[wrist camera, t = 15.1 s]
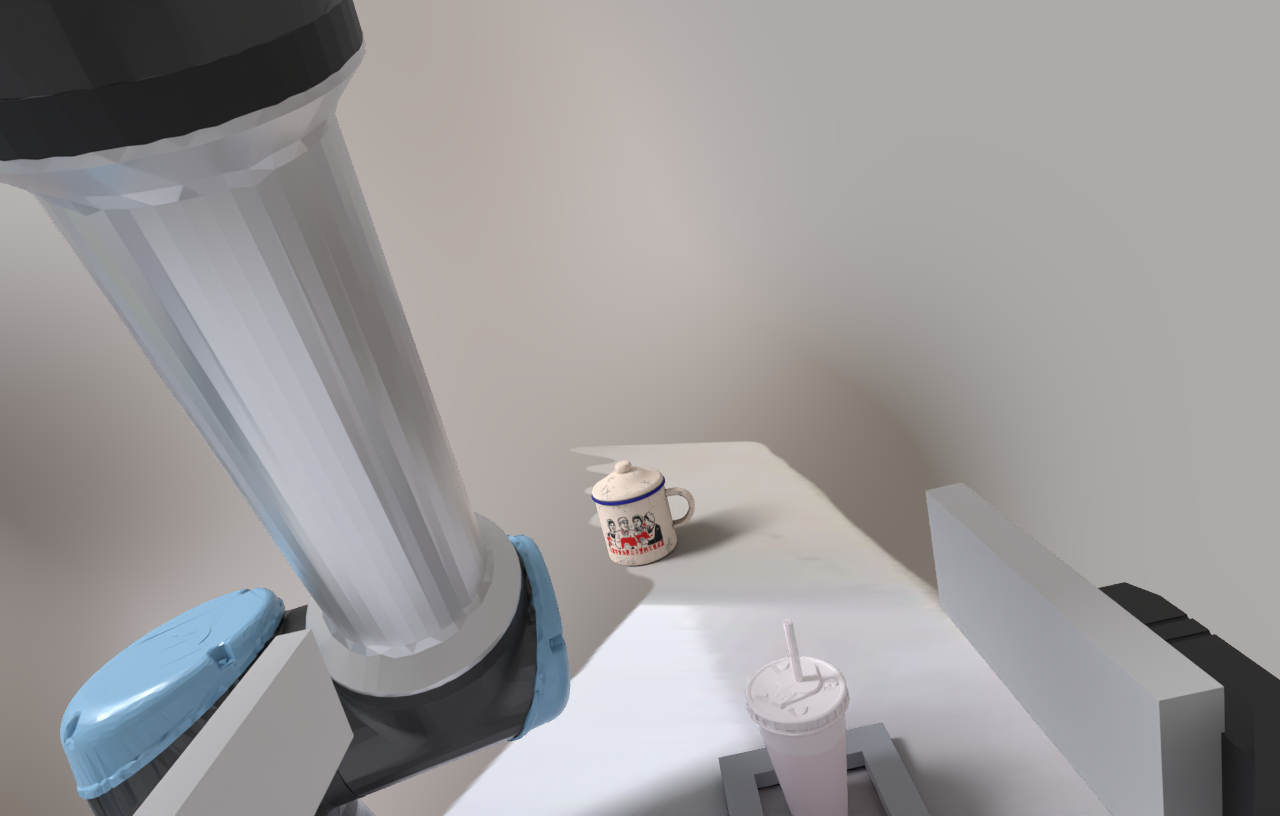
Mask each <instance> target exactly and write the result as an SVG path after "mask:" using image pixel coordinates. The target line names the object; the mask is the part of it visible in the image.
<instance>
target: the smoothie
mask: <svg viewBox="0 0 1280 816" xmlns="http://www.w3.org/2000/svg"><path fill="white" fill-rule="evenodd" d="M783 625H784V630H785V635H786V640H787V645H788V650H789V655H790V657H786V658H782V659H778V660H775V661H773V662H770V663H768V664H766V665H764V666H763V667H761V668H760V669H759V670H757V671H756V672H755V673H754V674H753V675H752V676H751V678H750V679H749V681H748V683H747V685H746V688H745V697H746V702H747V711H748V713H749V715H750V718H751V719H752V720H753V721H754V722H755V723H756V724H757V725H758V727H759V729H760V732H761V735H762V737H763V740H764V743H765V745H766V748H767V751H768V753H769V756H770V759H771V761H772V764H773V767H774V769H775V772H776V775H777V777H778V780H779V783H780V785H781V788H782V791H783V793H784V796H785V799H786V801H787V804H788V807H789V809H790V812H791V815H792V816H848V788H847V759H846V730H845V726H846V723H845V712H846V710H847V708H848V704H849V699H850V697H849V693H848V689H847V686H846V681H845V678H844V676H843V674H842V673H841V672H840V671H839V670H838V669H837V668H836V667H835V666H833V665H832V664H830V663H828V662H826V661H824V660H821V659H817V658H813V657H805V656H799V654H798V649H797V644H796V639H795V634H794V629H793V624H792V620H790V619H787V620H784V621H783Z"/></svg>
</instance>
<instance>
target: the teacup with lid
mask: <svg viewBox="0 0 1280 816" xmlns="http://www.w3.org/2000/svg"><path fill="white" fill-rule="evenodd" d="M664 483H665V478H664V476H663V475H662V474H661V472H659V471H658V470H656V469H652V468H640V467H635V466H631V463H630V462H629V461H621V462H618V463H617V464H616V465H615V471H613V472H612V473H611V474H610V475H609V476H607V477H606V478H603V479H602V480H600V481H599V482H598V483H597V484H596V485H595V486H594V488H593V490H592V499H593V500H594V502H595V503H596V507H597V511H598V514H599V518H600V522H601V526H602V529H603V533H604V537H605V541H606V544H607V548H608V552H609V556H610V558H611V559H612V560H613V561H614V562H615V563H617V564H620V565H626V566H637V565H643V564H647V563H651V562H654V561H656V560H659V559H661V558H663V557H665V556H666V555H667V554H669V553H670V552H671V551H672V550H673V549H674V548H675V546H676V543H677V537H676V533H675V529H674V528H678V527H681V526H683V525H685V524H687V523H688V522H689V521H690V519H691V518H692V516H693V513H694V499H693V497H692V495H691V493H690V492H688V491H687V490H685V489H683V488H678V487H675V488H669V489H665V487H664ZM672 495H680V496H683V497H684V498H686V500H687V501H688V504H689V510H688V512H687V514H686V515H685V516H684V517H683V518H681V519H678V520H674V521H673V520H672V516H671V512H670V508H669V503H668V499H667V496H672Z"/></svg>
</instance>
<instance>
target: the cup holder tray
mask: <svg viewBox="0 0 1280 816" xmlns="http://www.w3.org/2000/svg"><path fill="white" fill-rule="evenodd" d="M846 759H847V769H850V768H855V767H859V766H864V765H865V767H866V769H867V772H868V774H869V776H870V778H871V780H872V783H873V785H874V787H875V789H876V792H877V794H878V796H879V798H880V800H881V803H882V805H883V807H884V809H885V812H886V814H887V816H931V815H930V813H929V811H928V809H927V807H926V805H925V803H924V801H923V800H922V798H921V796H920V794H919V792H918V790H917V788H916V786H915V784H914V782H913V780H912V778H911V777H910V775H909V773H908V771H907V769H906V767H905V765H904V763H903V761H902V759H901V757H900V755H899V754H898V752H897V750H896V748H895V746H894V744H893V742H892V740H891V738H890V736H889V734H888V732H887V731H886V729H885V727H884V725H883V723H879V724H874V725H869V726H865V727H860V728H855V729H851V730H846ZM719 764H720V769H721V774H722V780H723V785H724V790H725V796H726V801H727V806H728V812H729V816H764V814H763V809H762V805H761V801H760V797H759V793H758V789H757V788H761V787H766V786H770V785H775V784H780V783H779V780H778V777H777V775H776V772H775V769H774V767H773V764H772V761H771V759H770V756H769V753H768V751H767V748H762V749H758V750H753V751H749V752H744V753H739V754H735V755H730V756H725V757H721V758H719Z"/></svg>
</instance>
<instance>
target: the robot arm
mask: <svg viewBox="0 0 1280 816" xmlns="http://www.w3.org/2000/svg"><path fill="white" fill-rule="evenodd" d="M364 55H365V40H364V36H363V32H362V30H361V27H360V23H359V20H358V17H357V13H356V10H355V7H354V3H353V0H0V182H2V183H5V184H8V185H11V186H14V187H18V188H21V189H24V190H27V191H28V192H30V193H32V194H33V195H34V197H35V198H36V199H37V201H38V202H39V204H40V205H41V207H42V208H43V210H44V211H45V212H46V214H47V215H48V217H49V218H50V220H51V221H52V223H53V224H54V225H55V227H56V228H57V230H58V231H59V232H60V234H61V235H62V237H63V238H64V240H65V241H66V243H67V244H68V246H69V247H70V248H71V250H72V251H73V253H74V254H75V256H76V257H77V259H78V260H79V261H80V263H81V264H82V266H83V267H84V269H85V270H86V272H87V273H88V274H89V276H90V277H91V279H92V280H93V282H94V283H95V284H96V286H97V287H98V289H99V290H100V292H101V293H102V295H103V296H104V297H105V299H106V300H107V302H108V303H109V305H110V306H111V308H112V309H113V310H114V312H115V313H116V315H117V316H118V317H119V319H120V320H121V322H122V323H123V325H124V326H125V328H126V329H127V331H128V332H129V333H130V335H131V336H132V338H133V339H134V341H135V342H136V343H137V345H138V346H139V348H140V349H141V351H142V352H143V354H144V355H145V356H146V358H147V359H148V361H149V362H150V363H151V365H152V366H153V368H154V370H155V371H156V372H157V374H158V375H159V377H160V378H161V380H162V381H163V382H164V384H165V385H166V387H167V388H168V390H169V391H170V393H171V394H172V395H173V397H174V398H175V400H176V401H177V403H178V404H179V406H180V407H181V408H182V410H183V411H184V413H185V414H186V416H187V417H188V419H189V420H190V421H191V423H192V424H193V426H194V427H195V429H196V430H197V431H198V433H199V434H200V436H201V437H202V439H203V440H204V442H205V443H206V444H207V446H208V447H209V449H210V450H211V452H212V453H213V455H214V456H215V457H216V459H217V460H218V462H219V463H220V465H221V466H222V468H223V469H224V470H225V472H226V473H227V475H228V476H229V478H230V479H231V480H232V482H233V483H234V485H235V486H236V488H237V489H238V491H239V492H240V493H241V495H242V496H243V498H244V499H245V501H246V502H247V504H248V505H249V506H250V508H251V509H252V510H253V512H254V514H255V515H256V516H257V518H258V519H259V521H260V522H261V524H262V525H263V527H264V528H265V529H266V531H267V532H268V534H269V535H270V537H271V538H272V540H273V541H274V542H275V544H276V545H277V547H278V548H279V549H280V551H281V553H282V554H283V555H284V557H285V558H286V560H287V561H288V562H289V564H290V565H291V567H292V568H293V570H294V571H295V573H296V574H297V575H298V577H299V578H300V580H301V581H302V583H303V584H304V586H305V587H306V588H307V590H308V591H309V593H310V594H311V596H310V599H309V603H308V605H305V606H302V607H298V608H295V609H292V610H288V611H285V607H284V604H283V601H282V599H280V598H279V597H277V596H276V595H275V594H274V593H273V592H272V591H271V590H268V589H266V588H255V589H253V590H249V589H243V590H239V591H235V592H232V593H228V594H226V595H223V596H220V597H217V598H215V599H213V600H210V601H208V602H205V603H203V604H201V605H199V606H197V607H194V608H193V609H190V610H189V611H187V612H185V613H183V614H181V615H179V616H177V617H175V618H173V619H172V620H170V621H168V622H166V623H165V624H163V625H161V626H159V627H158V628H156V629H154V630H153V631H151V632H149V633H148V634H146V635H145V636H143V637H142V638H140V639H139V640H137V641H136V642H134V643H133V644H131V645H130V646H129V647H127V648H126V649H124V650H123V651H122V652H120V653H119V654H118V655H116V656H115V657H114V658H113V659H111V660H110V661H109V662H108V663H106V664H105V665H104V666H103V667H102V668H101V669H100V670H98V672H96V673H95V674H94V675H93V676H92V677H91V678H90V679H89V680H88V681H87V682H86V683H85V684H84V685H83V686H82V687H81V689H80V690H79V691H78V692H77V694H76V695H75V696H74V698H73V699H72V701H71V702H70V704H69V705H68V707H67V709H66V711H65V714H64V716H63V719H62V724H61V729H60V735H61V742H62V745H63V747H64V750H65V753H66V755H67V758H68V761H69V763H70V766H71V769H72V771H73V774H74V777H75V779H76V782H77V785H78V786H77V791H78V794H79V795H80V797H81V798H83V799H86V801H87V802H88V804H89V806H90V808H91V810H92V812H93V814H94V815H95V816H376V815H375V814H374V813H373V812H372V811H371V810H370V809H369V808H368V807H367V806H366V805H365V804H364V803H363V802H362V801H361V800H360V799H359V798H361V797H364V796H366V795H368V794H371V793H373V792H376V791H378V790H381V789H383V788H386V787H389V786H391V785H394V784H396V783H399V782H401V781H404V780H406V779H409V778H412V777H414V776H417V775H419V774H422V773H424V772H427V771H429V770H432V769H435V768H437V767H439V766H442V765H445V764H447V763H450V762H452V761H455V760H458V759H460V758H463V757H465V756H468V755H470V754H473V753H475V752H478V751H481V750H483V749H485V748H488V747H491V746H493V745H496V744H498V743H501V742H503V741H515V740H518V739H520V738H522V737H523V736H524V735H526V734H527V733H528V732H529V731H530V730H532V729H534V728H536V727H538V726H541V725H543V724H545V723H547V722H550V721H552V720H553V719H555V718H556V717H557V716H559V715H560V714H561V713H562V711H563V710H564V708H565V706H566V704H567V702H568V699H569V694H570V672H569V661H568V654H567V649H566V646H565V642H564V639H563V637H562V632H563V631H562V623H561V617H560V612H559V608H558V604H557V600H556V596H555V593H554V589H553V586H552V582H551V579H550V576H549V573H548V570H547V567H546V564H545V562H544V559H543V556H542V554H541V552H540V550H539V548H538V546H537V544H536V543H535V542H534V541H533V539H531V538H529V537H527V536H524V535H516V536H510V535H506V534H505V533H504V531H503V530H502V529H501V528H500V527H499V526H497V525H496V524H495V523H494V522H492V521H491V520H489V519H488V518H486V517H484V516H482V515H480V514H478V513H475V512H473V509H472V506H471V503H470V501H469V498H468V495H467V492H466V489H465V486H464V483H463V481H462V477H461V475H460V472H459V469H458V466H457V463H456V460H455V457H454V455H453V452H452V449H451V446H450V443H449V440H448V437H447V434H446V431H445V429H444V426H443V423H442V420H441V417H440V415H439V411H438V409H437V406H436V403H435V400H434V397H433V394H432V391H431V388H430V386H429V383H428V380H427V377H426V374H425V371H424V368H423V365H422V363H421V360H420V357H419V354H418V351H417V348H416V346H415V342H414V340H413V337H412V334H411V331H410V328H409V325H408V322H407V319H406V317H405V314H404V311H403V308H402V305H401V302H400V300H399V297H398V294H397V291H396V288H395V285H394V282H393V279H392V276H391V274H390V271H389V268H388V265H387V262H386V259H385V256H384V253H383V250H382V248H381V245H380V242H379V239H378V236H377V233H376V231H375V228H374V225H373V222H372V219H371V216H370V213H369V210H368V207H367V205H366V202H365V199H364V196H363V193H362V190H361V187H360V184H359V182H358V179H357V176H356V173H355V170H354V167H353V165H352V161H351V159H350V156H349V153H348V150H347V147H346V144H345V141H344V138H343V136H342V133H341V130H340V127H339V124H338V121H337V118H336V115H335V111H336V106H337V102H338V100H339V98H340V97H341V95H342V93H343V92H344V90H345V88H346V87H347V85H348V83H349V82H350V80H351V78H352V77H353V75H354V73H355V71H356V70H357V68H358V66H359V65H360V63H361V61H362V59H363V57H364ZM926 499H927V505H928V514H929V522H930V528H931V537H932V544H933V552H934V559H935V567H936V574H937V581H938V590H939V597H940V605H941V608H942V609H943V610H944V612H945V613H946V614H947V615H948V616H949V618H950V619H951V620H952V621H953V622H954V624H955V625H956V626H957V627H958V629H959V630H960V631H961V632H962V633H963V635H964V636H965V637H966V638H967V639H968V641H969V642H970V643H971V644H972V646H973V647H974V648H975V649H976V650H977V652H978V653H979V654H980V655H981V656H982V658H983V659H984V660H985V661H986V663H987V664H988V665H989V666H990V667H991V669H992V670H993V671H994V672H995V673H996V675H997V676H998V677H999V678H1000V680H1001V681H1002V682H1003V683H1004V684H1005V686H1006V687H1007V688H1008V689H1009V690H1010V692H1011V693H1012V694H1013V695H1014V697H1015V698H1016V699H1017V700H1018V701H1019V703H1020V704H1021V705H1022V706H1023V708H1024V709H1025V710H1026V711H1027V712H1028V714H1029V715H1030V716H1031V717H1032V718H1033V720H1034V721H1035V722H1036V723H1037V725H1038V726H1039V727H1040V728H1041V729H1042V731H1043V732H1044V733H1045V734H1046V735H1047V737H1048V738H1049V739H1050V740H1051V742H1052V743H1053V744H1054V745H1055V746H1056V748H1057V749H1058V750H1059V751H1060V752H1061V754H1062V755H1063V756H1064V757H1065V759H1066V760H1067V761H1068V762H1069V763H1070V765H1071V766H1072V767H1073V768H1074V769H1075V771H1076V772H1077V773H1078V774H1079V776H1080V777H1081V778H1082V779H1083V780H1084V782H1085V783H1086V784H1087V785H1088V786H1089V788H1090V789H1091V790H1092V791H1093V793H1094V794H1095V795H1096V796H1097V797H1098V799H1099V800H1100V801H1101V802H1102V803H1103V805H1104V806H1105V807H1106V808H1107V810H1108V811H1109V812H1110V813H1111V814H1112V816H1280V680H1279V679H1278V678H1276V677H1275V676H1273V675H1272V674H1271V673H1269V672H1268V671H1266V670H1265V669H1263V668H1262V667H1261V666H1259V665H1258V664H1256V663H1255V662H1254V661H1252V660H1251V659H1249V658H1248V657H1246V656H1245V655H1244V654H1242V653H1241V652H1239V651H1238V650H1237V649H1235V648H1234V647H1232V646H1231V645H1229V644H1228V643H1227V642H1225V641H1224V640H1222V639H1221V638H1219V637H1218V636H1217V635H1211V634H1210V631H1209V630H1208V629H1207V628H1205V627H1204V626H1202V625H1201V624H1200V623H1198V622H1197V621H1195V620H1194V619H1189V618H1188V617H1187V614H1185V613H1184V612H1183V611H1181V610H1180V609H1178V608H1177V607H1176V606H1174V605H1173V604H1171V603H1170V602H1168V601H1167V600H1166V599H1164V598H1163V597H1161V596H1159V595H1157V594H1154V593H1152V592H1149V591H1146V590H1144V589H1141V588H1138V587H1136V586H1133V585H1131V584H1128V583H1125V582H1124V583H1119V584H1115V585H1111V586H1106V587H1101V588H1097V587H1096V586H1094V585H1093V584H1091V583H1090V582H1089V581H1088V580H1087V579H1085V578H1084V577H1083V576H1081V575H1080V574H1079V573H1078V572H1076V571H1075V570H1074V569H1072V568H1071V567H1070V566H1069V565H1067V564H1066V563H1065V562H1063V561H1062V560H1061V559H1060V558H1058V557H1057V556H1056V555H1055V554H1053V553H1052V552H1051V551H1049V550H1048V549H1047V548H1046V547H1044V546H1043V545H1042V544H1040V543H1039V542H1038V541H1037V540H1035V539H1034V538H1033V537H1031V536H1030V535H1029V534H1028V533H1026V532H1025V531H1024V530H1022V529H1021V528H1020V527H1018V526H1017V525H1016V524H1015V523H1014V522H1012V521H1011V520H1010V519H1008V518H1007V517H1006V516H1005V515H1003V514H1002V513H1000V512H999V511H998V510H997V509H996V508H994V507H993V506H992V505H990V504H989V503H988V502H986V501H985V500H984V499H983V498H981V497H980V496H979V495H978V494H976V493H975V492H974V491H973V490H971V489H970V488H968V487H967V486H966V485H965V484H964V483H957V484H953V485H948V486H944V487H939V488H935V489H931V490H926Z"/></svg>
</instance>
